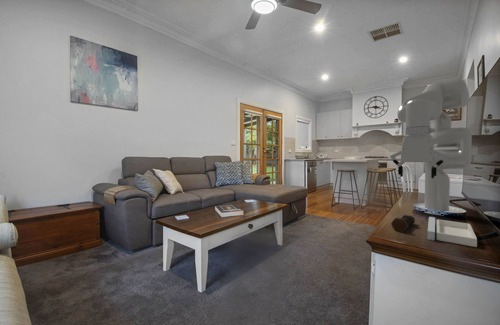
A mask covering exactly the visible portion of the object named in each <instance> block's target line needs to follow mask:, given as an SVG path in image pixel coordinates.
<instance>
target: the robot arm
mask: <svg viewBox="0 0 500 325" xmlns="http://www.w3.org/2000/svg"><path fill="white" fill-rule="evenodd" d="M470 97H471V96H470V92H469V88H468V85H467V83H466V82H465V80H464V79H463V78H459V77H456V78H450V79H445V80H441V81H434V82H432V83H430V84H429V85H427V86H426V87H425V88H424V89H423V91H422V92H421V93H419V94H417V95H415V96H412V97H410V98H408V99H405V100H404V101H403V102H402V103H401V104H400V106H399V108H398V110H397V119H398V121H399V122H400V123H403V124H405V135H404V136H403V137H402V141H401V147H400V149H401V150H400V151H398V152H395V153H393V154H391V155H390V159H391V161H392V162H393V163H394V164H395V166H397V168H398V169H397V170H398V171H397V173H398V174H397V175H399V177H400V178H401V177H403V176H404V166H403V165H404V164H406V163H423V166H424V207H425V208H427V209H434V210H440V211H449V210H450V193H451V192H450V189H451V187H450V185H451V184H450V182H451V180H450V175H449V174H447V173H446V171H444V170H467V169H468V168H469V167H470V166H471V163H472V140H473V137H472V136H473V135H472V131H471V129H470V128H467V127H460V126H459V127H452V122H453V121H452V118H451V117H450V115H448V114H447V113H445V112H444V111H443V110H451V109H452V110H453V109H460V108H464V107H466V106H468V105H469V102H470ZM435 148H439V149H435ZM440 148H442V149H440ZM443 148H446V149H443ZM448 148H452V149H448ZM453 148H456V149H453ZM399 156H400V159H401V160H400V161H399V160H397V157H399ZM424 213H425V214H429V215H435V216H442V217H443V216H444V215H441V214H439V213H431V212H424Z"/></svg>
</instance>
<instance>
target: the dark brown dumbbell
mask: <svg viewBox="0 0 500 325" xmlns="http://www.w3.org/2000/svg"><path fill="white" fill-rule="evenodd" d="M415 223H416V219H415V216H414V217H413V216H412V215H408V214H404V215H402V217H401V218H400V217H395V218H394V219H393V220H392V222H391V223H390V225H391V226H392V228H393V230H394V231H396V232H397V231H398V232H401V233H404V232H406V231H407V229H408V228H409V227H412V226H413V225H414V224H415Z"/></svg>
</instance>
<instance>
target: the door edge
mask: <svg viewBox="0 0 500 325" xmlns="http://www.w3.org/2000/svg"><path fill="white" fill-rule="evenodd" d="M427 223H428V224H427V234H426V235H427V240H429V241H435V240H436V217H434V216H429V217H428V222H427Z"/></svg>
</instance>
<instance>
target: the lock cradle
mask: <svg viewBox="0 0 500 325" xmlns="http://www.w3.org/2000/svg"><path fill="white" fill-rule="evenodd" d="M435 227H436V241H441V242H445V243H452V244H458V245H462V246H463V245H464V246H467V247H468V246H469V247H474V248H477V247H478V239H477V238H478V237H477V236H476V234H475V232H474V229H473V227H472V225H471V223H467V222H466V223H465V222H461V221H460V222H459V221H451V220H446V219H445V220H444V219H439V218H438V219H437V218H436V224H435Z"/></svg>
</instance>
